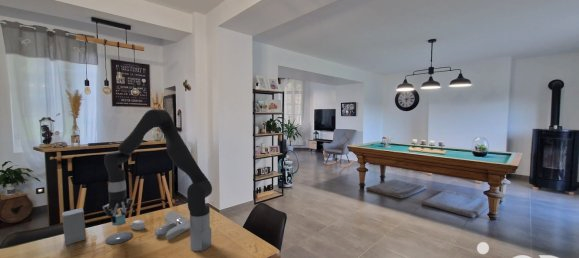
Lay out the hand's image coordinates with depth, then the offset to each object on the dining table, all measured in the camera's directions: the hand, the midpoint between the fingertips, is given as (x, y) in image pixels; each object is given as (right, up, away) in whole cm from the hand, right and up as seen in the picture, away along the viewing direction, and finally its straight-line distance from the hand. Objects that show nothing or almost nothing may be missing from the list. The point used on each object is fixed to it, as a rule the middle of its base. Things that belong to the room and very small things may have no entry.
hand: (118, 220), depth 127 cm
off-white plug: (+3, -9, +12) cm, 15 cm away
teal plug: (0, -2, 0) cm, 2 cm away
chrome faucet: (+22, -10, +10) cm, 26 cm away
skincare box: (-21, -10, -2) cm, 23 cm away
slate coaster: (0, -9, +1) cm, 9 cm away
